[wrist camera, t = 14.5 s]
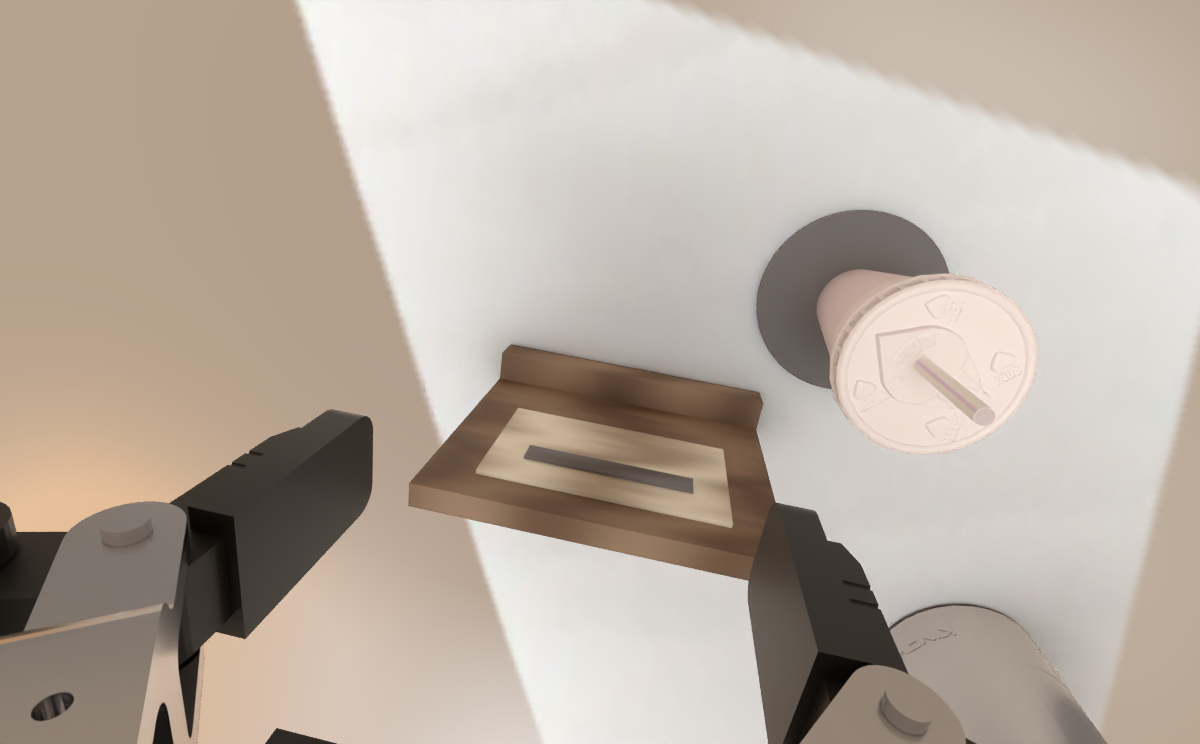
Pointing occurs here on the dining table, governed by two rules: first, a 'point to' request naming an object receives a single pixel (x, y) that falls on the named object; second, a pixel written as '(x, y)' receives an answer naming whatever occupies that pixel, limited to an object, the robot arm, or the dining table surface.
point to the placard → (609, 462)
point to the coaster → (816, 263)
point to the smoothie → (925, 357)
